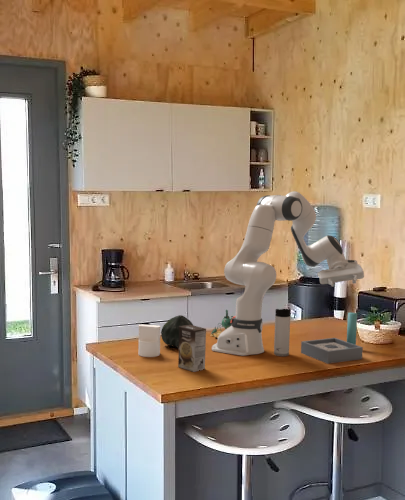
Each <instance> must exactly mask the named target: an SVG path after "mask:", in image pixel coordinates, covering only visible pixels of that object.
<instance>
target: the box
mask: <svg viewBox="0 0 405 500" xmlns="http://www.w3.org/2000/svg"><path fill="white" fill-rule="evenodd" d="M330 342H335V343H338V344H341V345H343V346H346V347H349V348H346V349H338V350H330V351H328V350H325V349H323V348H320V347H317V346H315V345H313V344H321V343H330ZM300 343H301V344H300V353H301V354H303V355H305V356H307V357H310V358H312V359H315V360H318V361H320V362H323V363H325V364H327V365H328V364H335V363H336V364H337V363H342V362H350V361H357V360H363V348H364V347H363V346H360V345H357V344H356V345H355V344H352V343H349V342H347V340H346V341H345V340H343V339H340V338H337V337H329V338H320V339H312V340H303V341H301V342H300Z"/></svg>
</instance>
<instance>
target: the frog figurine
mask: <svg viewBox="0 0 405 500" xmlns="http://www.w3.org/2000/svg"><path fill="white" fill-rule="evenodd" d="M233 317H234V316H233V315H231V316H229V310H228V309H225V316H224V317H223V319H222V320H221V322H218V324H217V326H219V327H217V328H216V326H215V327H214V328H213V329H212V331H211V332H210V337H214V338H217V339H218V337H219V335H220V334H221V333H222V332H223V331H222V329H221V328H222V327H223V328H224V330H226V329H227V328H229V327H230V326H231V323H230V322H231V319H232V318H233ZM219 324H220V325H219ZM221 325H222V326H221ZM218 329H219V330H220V331H218Z"/></svg>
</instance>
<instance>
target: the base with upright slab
mask: <svg viewBox="0 0 405 500" xmlns="http://www.w3.org/2000/svg"><path fill="white" fill-rule="evenodd" d="M160 355H161V325H153V324H142V323H140V324H139V325H138V356H140V357H144V358H155V357H158V356H160Z"/></svg>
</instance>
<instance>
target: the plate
mask: <svg viewBox="0 0 405 500" xmlns="http://www.w3.org/2000/svg"><path fill="white" fill-rule="evenodd" d="M313 345H315V346H317V347H320V348H323V349H325V350H328V351H330V350H338V349H346V348H349V347H346V346H343V345H341V344H338V343H335V342H330V343H321V344H313Z"/></svg>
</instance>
